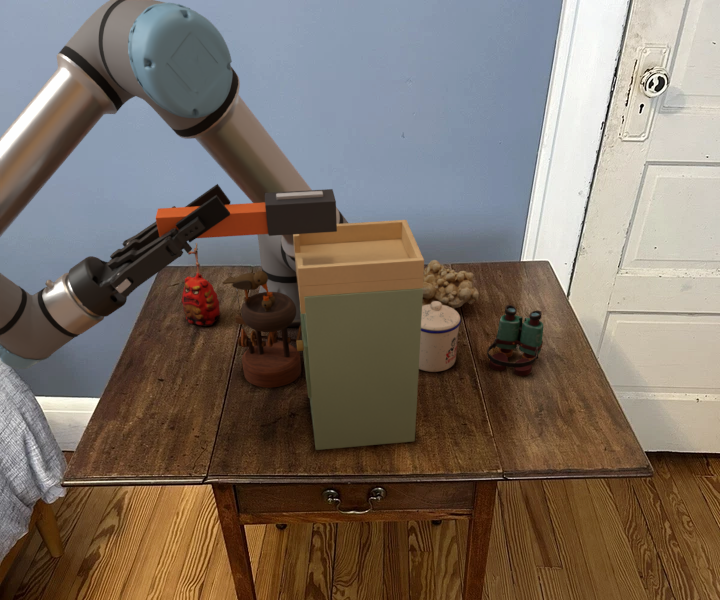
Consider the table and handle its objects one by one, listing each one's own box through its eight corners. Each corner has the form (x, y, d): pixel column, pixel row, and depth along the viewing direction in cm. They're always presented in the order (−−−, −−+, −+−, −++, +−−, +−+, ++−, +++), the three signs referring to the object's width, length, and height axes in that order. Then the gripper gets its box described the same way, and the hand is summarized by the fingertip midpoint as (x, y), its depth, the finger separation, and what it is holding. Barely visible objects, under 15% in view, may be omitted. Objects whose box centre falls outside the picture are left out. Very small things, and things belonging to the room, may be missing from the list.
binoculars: (485, 328, 116) (502, 297, 122) (481, 377, 124) (497, 345, 130) (537, 339, 113) (552, 307, 119) (529, 388, 121) (544, 355, 127)
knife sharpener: (162, 229, 91) (155, 195, 88) (333, 218, 93) (332, 185, 90) (159, 242, 88) (152, 208, 85) (336, 231, 90) (335, 197, 87)
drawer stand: (301, 399, 118) (286, 226, 97) (400, 391, 120) (406, 219, 99) (306, 451, 108) (290, 269, 87) (414, 441, 109) (424, 260, 89)
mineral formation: (429, 284, 149) (493, 296, 142) (400, 319, 142) (465, 334, 136) (426, 251, 143) (492, 262, 136) (395, 286, 136) (464, 300, 130)
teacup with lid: (455, 375, 123) (461, 317, 115) (405, 371, 124) (407, 314, 116) (458, 340, 132) (464, 285, 124) (411, 337, 133) (414, 282, 125)
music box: (229, 388, 121) (213, 279, 109) (242, 359, 130) (228, 255, 117) (314, 390, 120) (307, 280, 108) (321, 361, 129) (316, 256, 116)
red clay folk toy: (178, 324, 138) (163, 253, 128) (196, 308, 143) (182, 238, 132) (211, 330, 136) (198, 258, 126) (228, 314, 141) (217, 243, 130)
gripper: (53, 302, 85) (201, 197, 79) (76, 247, 97) (207, 153, 91) (98, 345, 90) (241, 249, 84) (115, 288, 102) (241, 200, 95)
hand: (223, 199), depth 87 cm, fingers closed on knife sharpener, 3 cm apart
